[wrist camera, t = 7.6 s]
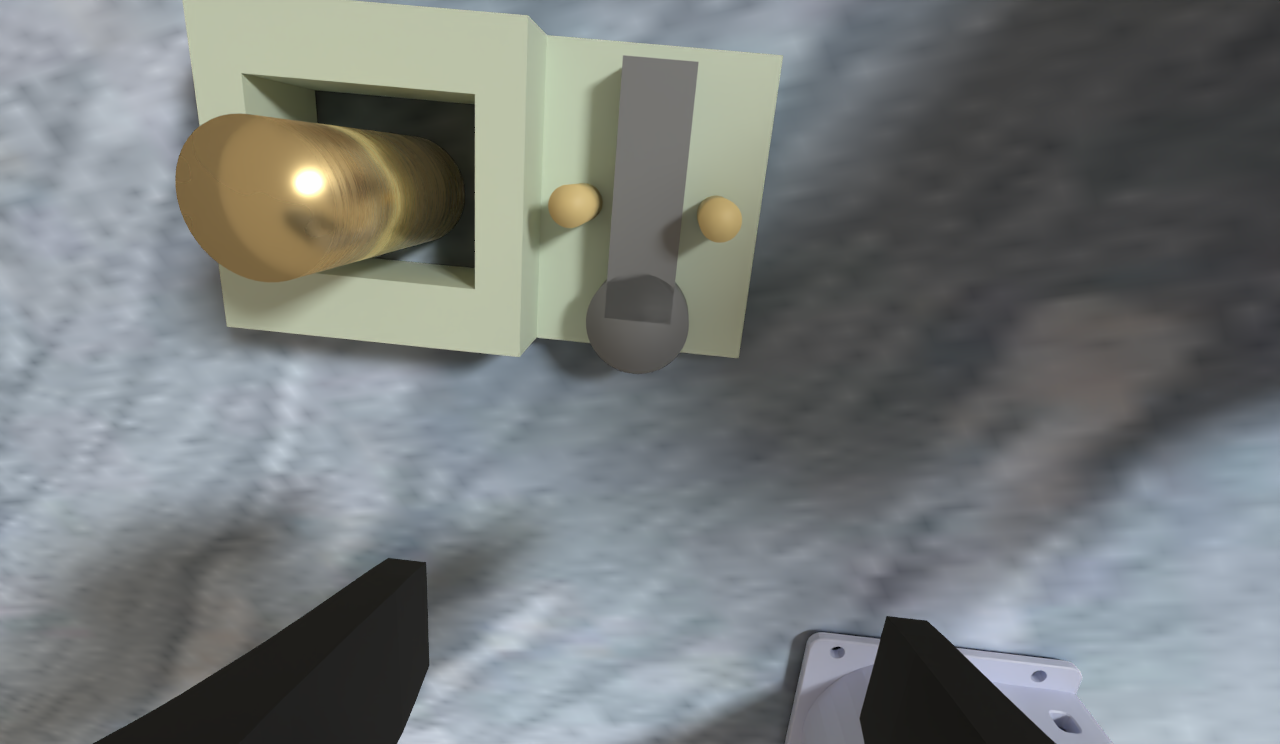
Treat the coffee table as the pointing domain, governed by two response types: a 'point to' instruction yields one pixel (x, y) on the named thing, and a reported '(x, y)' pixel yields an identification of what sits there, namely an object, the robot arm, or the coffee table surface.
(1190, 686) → the coffee table surface
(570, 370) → the coffee table surface
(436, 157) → the brass pin
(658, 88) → the slot jig
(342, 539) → the coffee table surface
